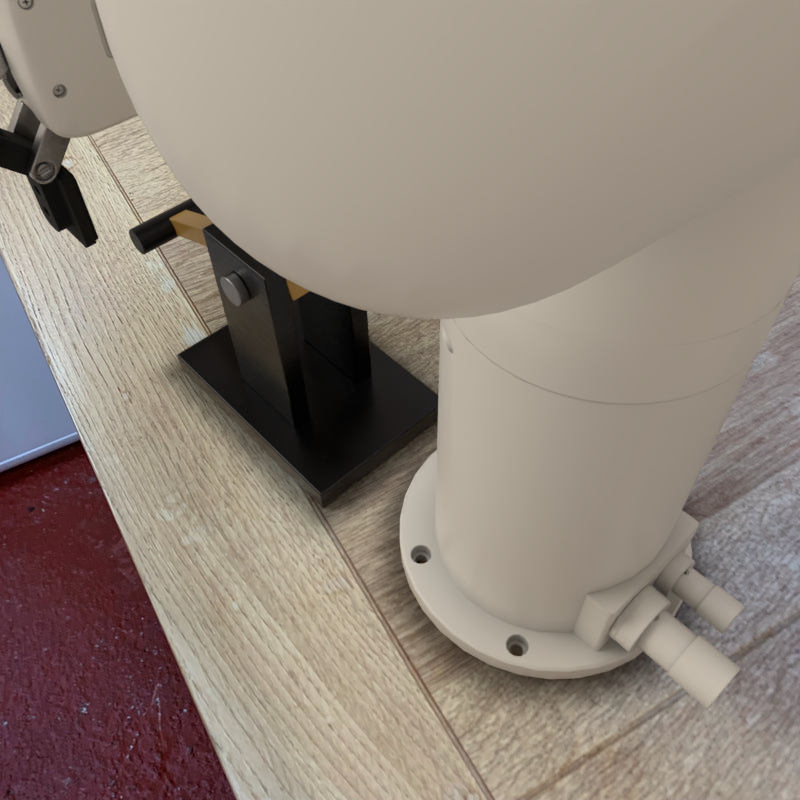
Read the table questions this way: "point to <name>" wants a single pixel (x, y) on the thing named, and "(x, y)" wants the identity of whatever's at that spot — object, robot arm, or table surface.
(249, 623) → the table surface
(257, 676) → the table surface
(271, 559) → the table surface
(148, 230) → the lever
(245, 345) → the bracket
